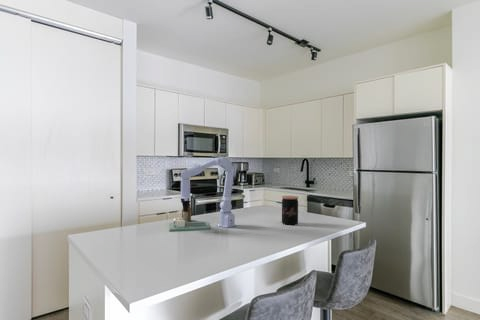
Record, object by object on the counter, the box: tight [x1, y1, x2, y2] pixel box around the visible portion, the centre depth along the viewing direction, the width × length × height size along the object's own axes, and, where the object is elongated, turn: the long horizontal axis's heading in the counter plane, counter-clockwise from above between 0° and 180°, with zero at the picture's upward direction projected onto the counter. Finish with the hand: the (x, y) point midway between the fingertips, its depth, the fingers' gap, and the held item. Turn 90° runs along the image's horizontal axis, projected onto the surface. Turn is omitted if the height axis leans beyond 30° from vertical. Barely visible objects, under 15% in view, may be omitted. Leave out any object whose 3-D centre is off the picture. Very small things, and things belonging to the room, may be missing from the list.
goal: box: [173, 217, 185, 228], centre depth 173 cm, size 6×8×4 cm
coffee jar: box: [281, 195, 299, 226], centre depth 186 cm, size 11×11×18 cm
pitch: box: [168, 221, 211, 232], centre depth 174 cm, size 24×16×2 cm, turn 104°
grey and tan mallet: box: [183, 212, 188, 226], centre depth 174 cm, size 3×4×8 cm
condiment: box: [181, 203, 195, 222], centre depth 190 cm, size 7×8×12 cm
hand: (185, 210), depth 174 cm, fingers open, 7 cm apart
